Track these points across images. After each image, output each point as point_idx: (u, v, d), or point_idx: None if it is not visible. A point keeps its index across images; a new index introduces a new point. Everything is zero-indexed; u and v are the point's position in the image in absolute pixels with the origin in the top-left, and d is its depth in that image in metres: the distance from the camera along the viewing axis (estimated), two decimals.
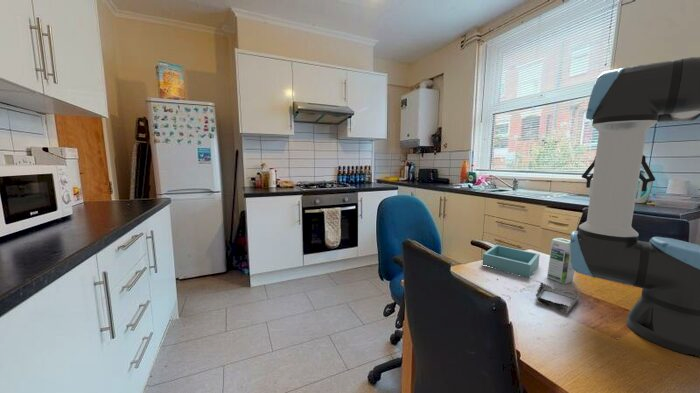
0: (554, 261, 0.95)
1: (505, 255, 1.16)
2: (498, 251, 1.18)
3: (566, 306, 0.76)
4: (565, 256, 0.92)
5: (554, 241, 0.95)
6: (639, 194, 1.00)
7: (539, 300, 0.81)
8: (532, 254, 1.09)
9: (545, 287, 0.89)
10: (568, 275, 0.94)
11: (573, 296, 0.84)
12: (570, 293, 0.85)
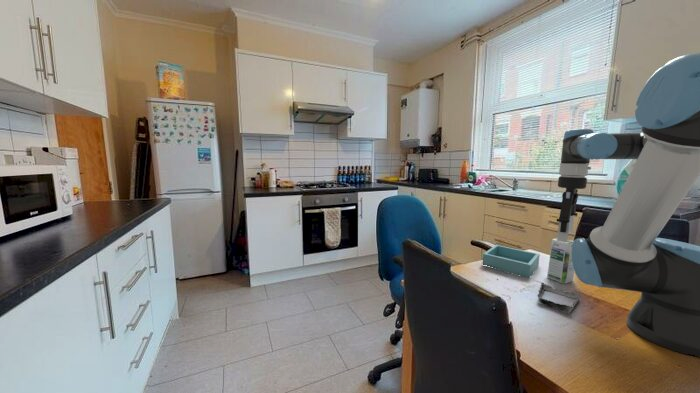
0: (554, 261, 0.95)
1: (505, 255, 1.16)
2: (498, 251, 1.18)
3: (568, 307, 0.75)
4: (565, 256, 0.92)
5: (554, 241, 0.95)
6: None
7: (541, 301, 0.80)
8: (532, 254, 1.09)
9: (546, 287, 0.89)
10: (568, 275, 0.94)
11: (574, 296, 0.84)
12: (571, 293, 0.85)
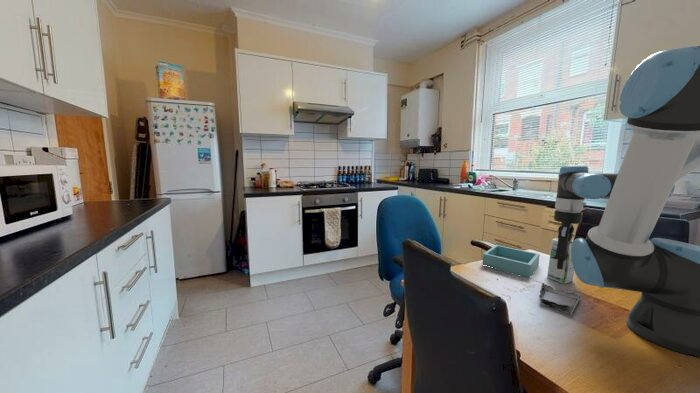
0: (554, 261, 0.95)
1: (505, 255, 1.16)
2: (498, 251, 1.18)
3: (570, 307, 0.75)
4: None
5: (554, 241, 0.95)
6: None
7: (543, 302, 0.80)
8: (532, 254, 1.09)
9: (546, 288, 0.89)
10: (568, 274, 0.94)
11: (575, 296, 0.84)
12: (572, 293, 0.85)
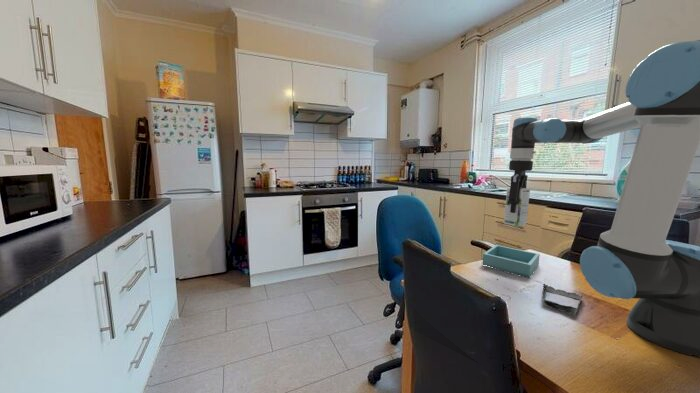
0: (509, 207, 1.05)
1: (505, 255, 1.16)
2: (498, 251, 1.18)
3: (574, 309, 0.74)
4: None
5: (509, 189, 1.05)
6: None
7: (546, 303, 0.79)
8: (532, 254, 1.09)
9: (547, 288, 0.89)
10: (521, 218, 1.03)
11: (576, 297, 0.84)
12: (573, 294, 0.84)
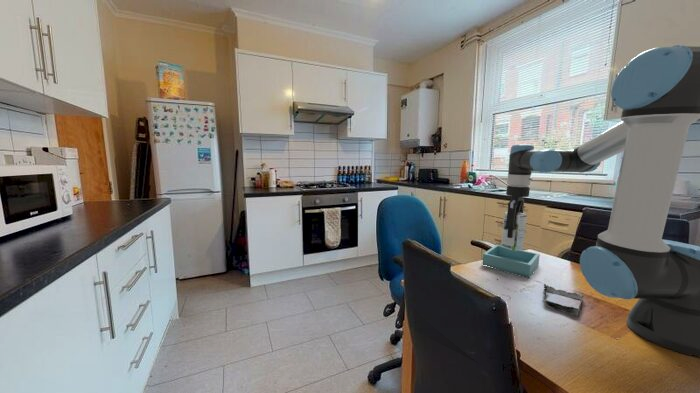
0: (506, 232, 1.06)
1: (505, 255, 1.16)
2: (498, 251, 1.18)
3: (576, 309, 0.74)
4: None
5: (506, 214, 1.06)
6: None
7: (547, 304, 0.79)
8: (532, 254, 1.09)
9: (548, 288, 0.88)
10: (518, 243, 1.05)
11: (577, 297, 0.84)
12: (574, 294, 0.84)
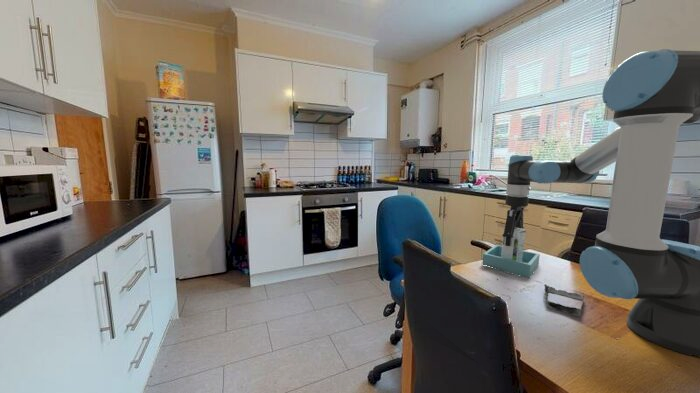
0: None
1: None
2: (498, 251, 1.18)
3: (579, 310, 0.74)
4: (514, 241, 1.04)
5: None
6: None
7: (549, 304, 0.78)
8: (532, 254, 1.09)
9: (549, 289, 0.88)
10: (518, 258, 1.05)
11: (578, 297, 0.84)
12: (574, 294, 0.84)
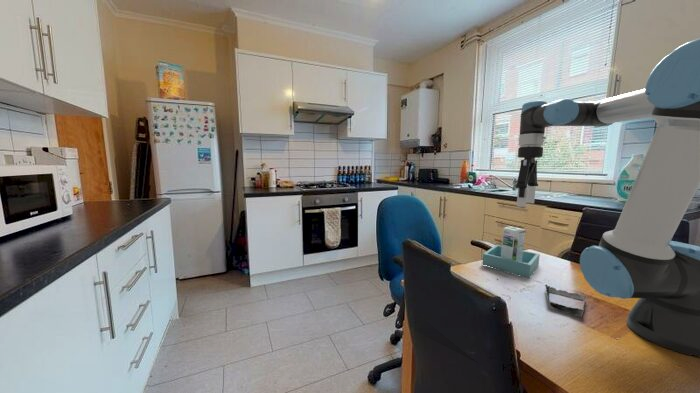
0: (506, 247, 1.07)
1: None
2: (498, 251, 1.18)
3: (581, 310, 0.73)
4: (514, 242, 1.04)
5: (505, 229, 1.07)
6: None
7: (551, 305, 0.78)
8: (532, 254, 1.09)
9: (549, 289, 0.88)
10: (517, 258, 1.05)
11: (578, 297, 0.83)
12: (575, 294, 0.84)
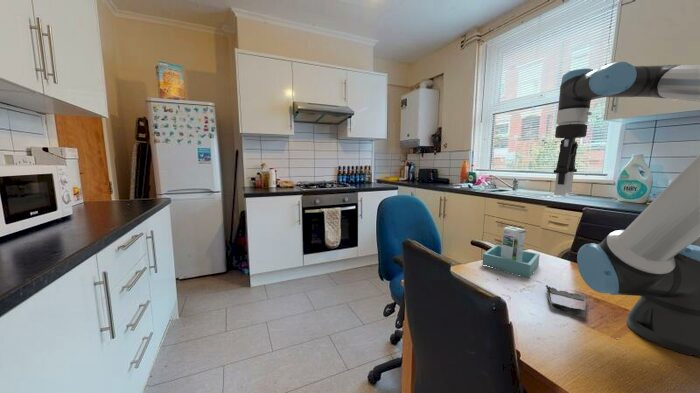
0: (506, 247, 1.07)
1: None
2: (498, 251, 1.18)
3: (583, 311, 0.73)
4: (514, 242, 1.04)
5: (505, 229, 1.07)
6: (555, 187, 0.82)
7: (553, 306, 0.78)
8: (532, 254, 1.09)
9: (550, 290, 0.88)
10: (517, 258, 1.05)
11: (579, 298, 0.83)
12: (576, 295, 0.84)
